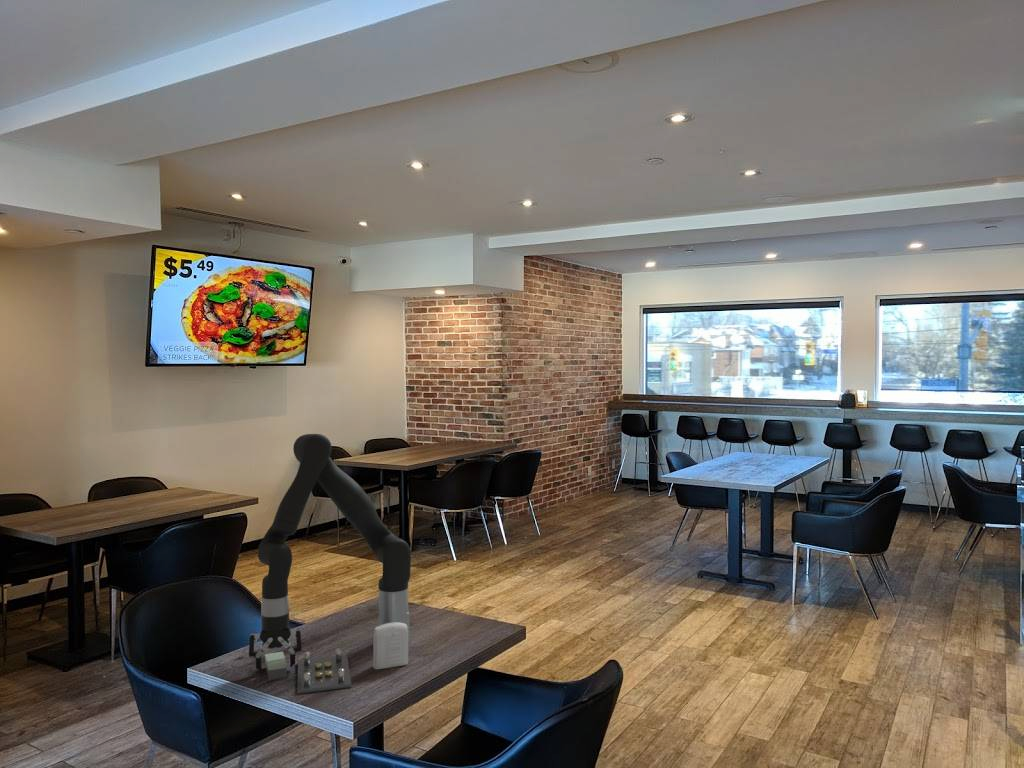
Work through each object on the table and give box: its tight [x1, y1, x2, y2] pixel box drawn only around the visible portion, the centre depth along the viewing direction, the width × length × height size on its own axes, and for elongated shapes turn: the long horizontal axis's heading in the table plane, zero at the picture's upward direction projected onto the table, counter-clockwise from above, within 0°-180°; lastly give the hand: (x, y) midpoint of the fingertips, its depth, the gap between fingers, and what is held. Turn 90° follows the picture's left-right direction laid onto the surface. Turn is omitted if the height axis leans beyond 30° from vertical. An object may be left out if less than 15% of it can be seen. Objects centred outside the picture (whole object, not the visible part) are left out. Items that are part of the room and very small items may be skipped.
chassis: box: [296, 647, 352, 695], centre depth 203 cm, size 14×21×4 cm, turn 16°
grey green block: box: [264, 651, 288, 681], centre depth 205 cm, size 5×10×4 cm, turn 24°
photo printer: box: [372, 622, 409, 670], centre depth 209 cm, size 10×4×12 cm, turn 115°
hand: (275, 668), depth 205 cm, fingers open, 8 cm apart
